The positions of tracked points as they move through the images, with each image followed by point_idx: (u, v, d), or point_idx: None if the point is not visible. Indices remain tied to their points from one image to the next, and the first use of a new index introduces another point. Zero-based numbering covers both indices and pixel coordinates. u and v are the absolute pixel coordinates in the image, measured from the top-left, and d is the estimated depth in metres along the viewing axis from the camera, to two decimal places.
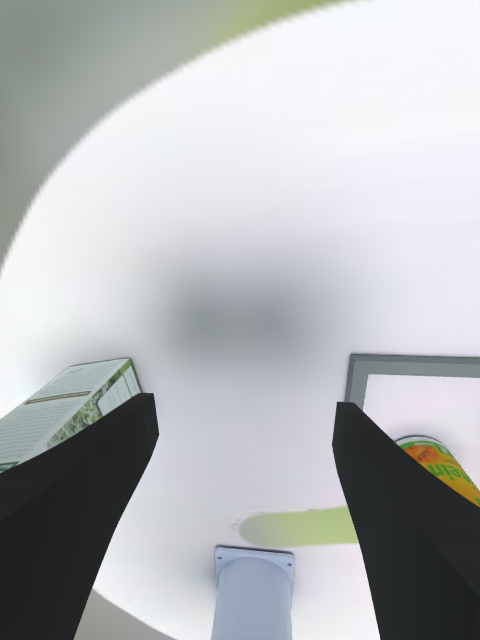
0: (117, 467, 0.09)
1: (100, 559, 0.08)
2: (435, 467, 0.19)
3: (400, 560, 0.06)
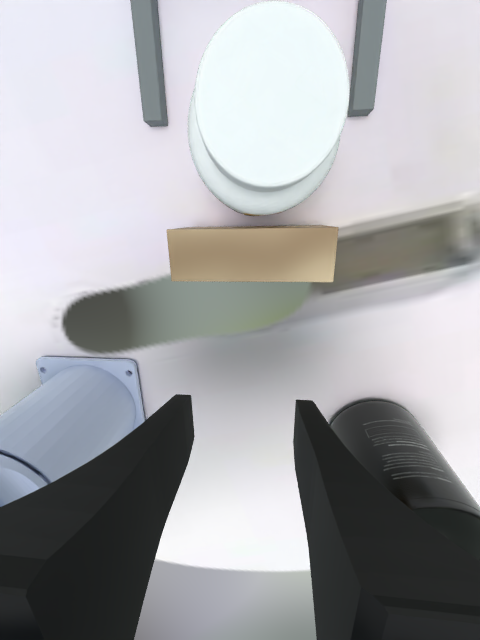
0: (164, 470, 0.09)
1: (151, 564, 0.08)
2: None
3: (326, 553, 0.06)
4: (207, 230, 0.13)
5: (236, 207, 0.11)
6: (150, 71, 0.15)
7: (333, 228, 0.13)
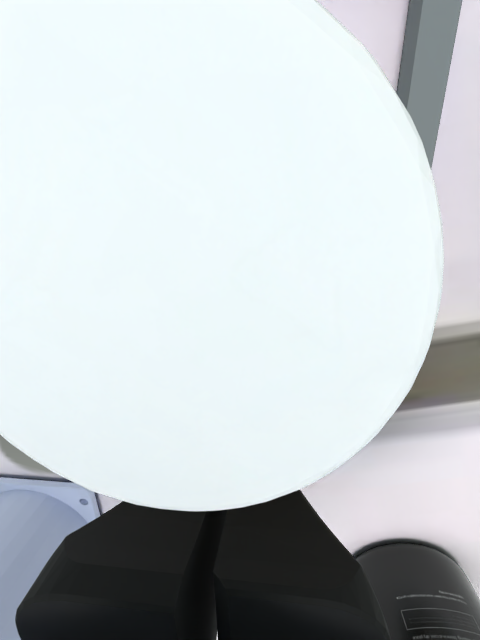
0: None
1: None
2: None
3: None
4: None
5: None
6: None
7: None
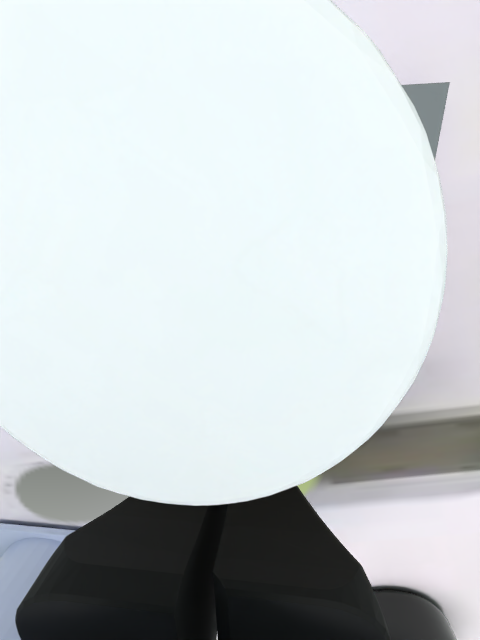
0: None
1: None
2: None
3: None
4: None
5: None
6: None
7: None
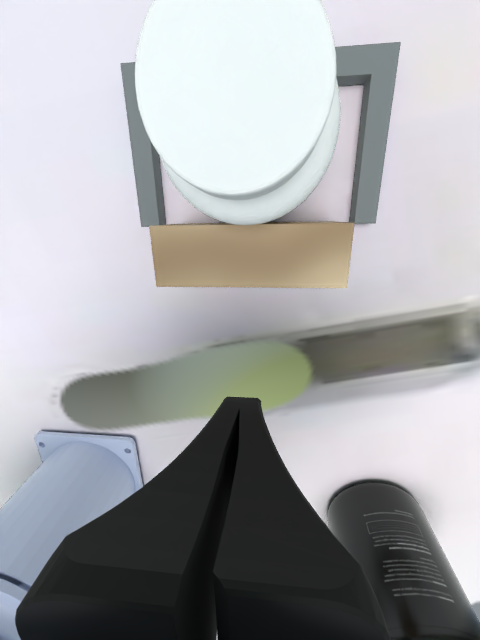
0: (229, 475, 0.08)
1: None
2: None
3: None
4: (197, 226, 0.11)
5: (205, 213, 0.09)
6: (148, 182, 0.14)
7: (348, 224, 0.11)
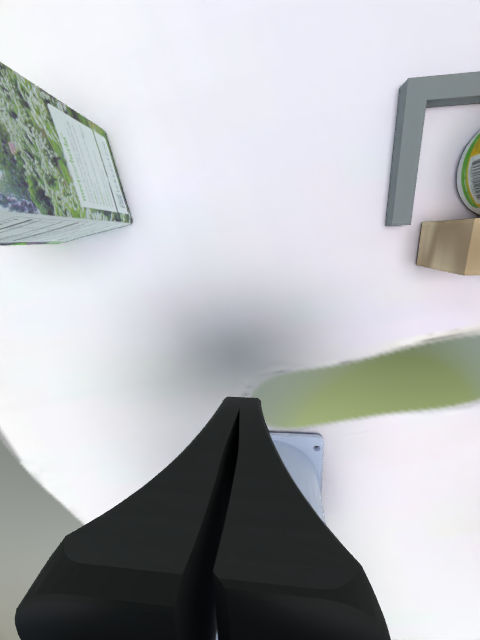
0: (229, 475, 0.08)
1: None
2: None
3: None
4: None
5: None
6: (409, 183, 0.15)
7: None
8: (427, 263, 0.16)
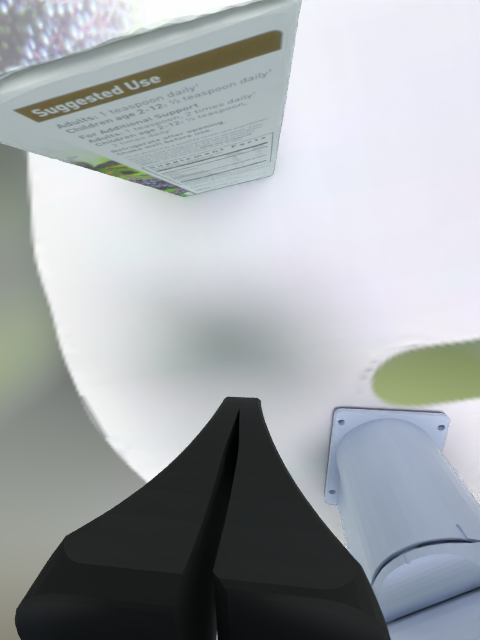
0: (229, 475, 0.08)
1: None
2: None
3: None
4: None
5: None
6: None
7: None
8: None
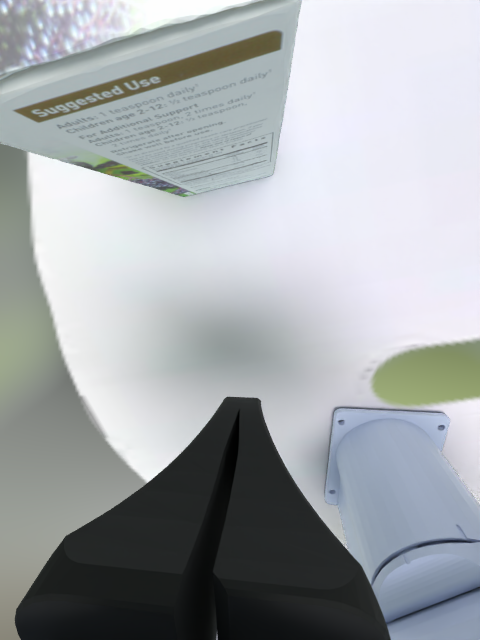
0: (229, 475, 0.08)
1: None
2: None
3: None
4: None
5: None
6: None
7: None
8: None
